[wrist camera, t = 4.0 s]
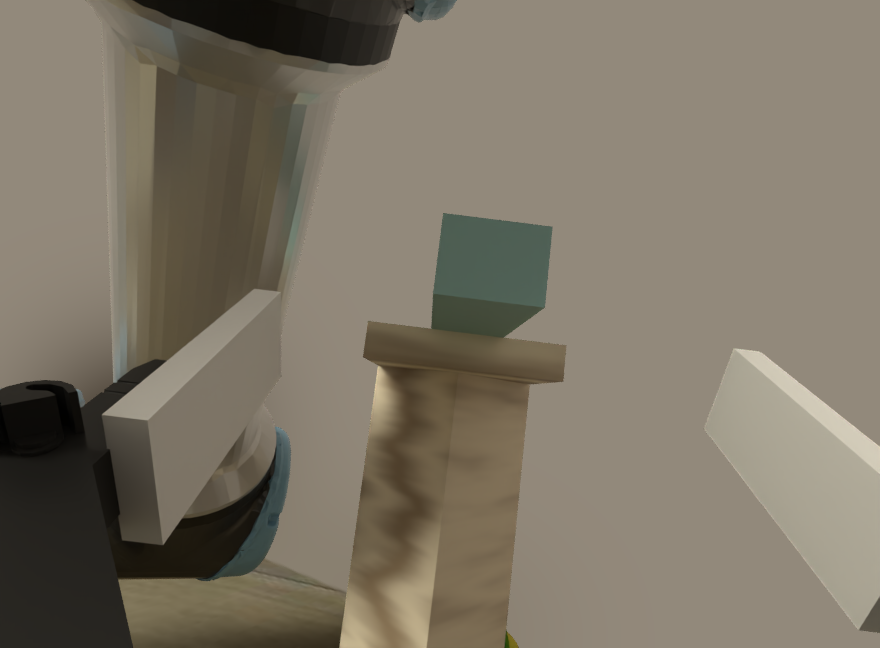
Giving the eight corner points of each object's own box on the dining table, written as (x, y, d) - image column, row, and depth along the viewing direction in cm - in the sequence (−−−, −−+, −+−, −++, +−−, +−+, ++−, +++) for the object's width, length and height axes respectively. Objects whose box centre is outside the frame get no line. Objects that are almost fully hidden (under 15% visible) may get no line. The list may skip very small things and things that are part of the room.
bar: (544, 307, 18) (552, 226, 18) (433, 293, 18) (443, 213, 18) (476, 357, 44) (479, 323, 44) (430, 351, 44) (434, 317, 44)
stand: (275, 948, 24) (365, 320, 28) (340, 710, 42) (389, 348, 46) (514, 976, 24) (569, 345, 28) (477, 726, 42) (514, 363, 46)
